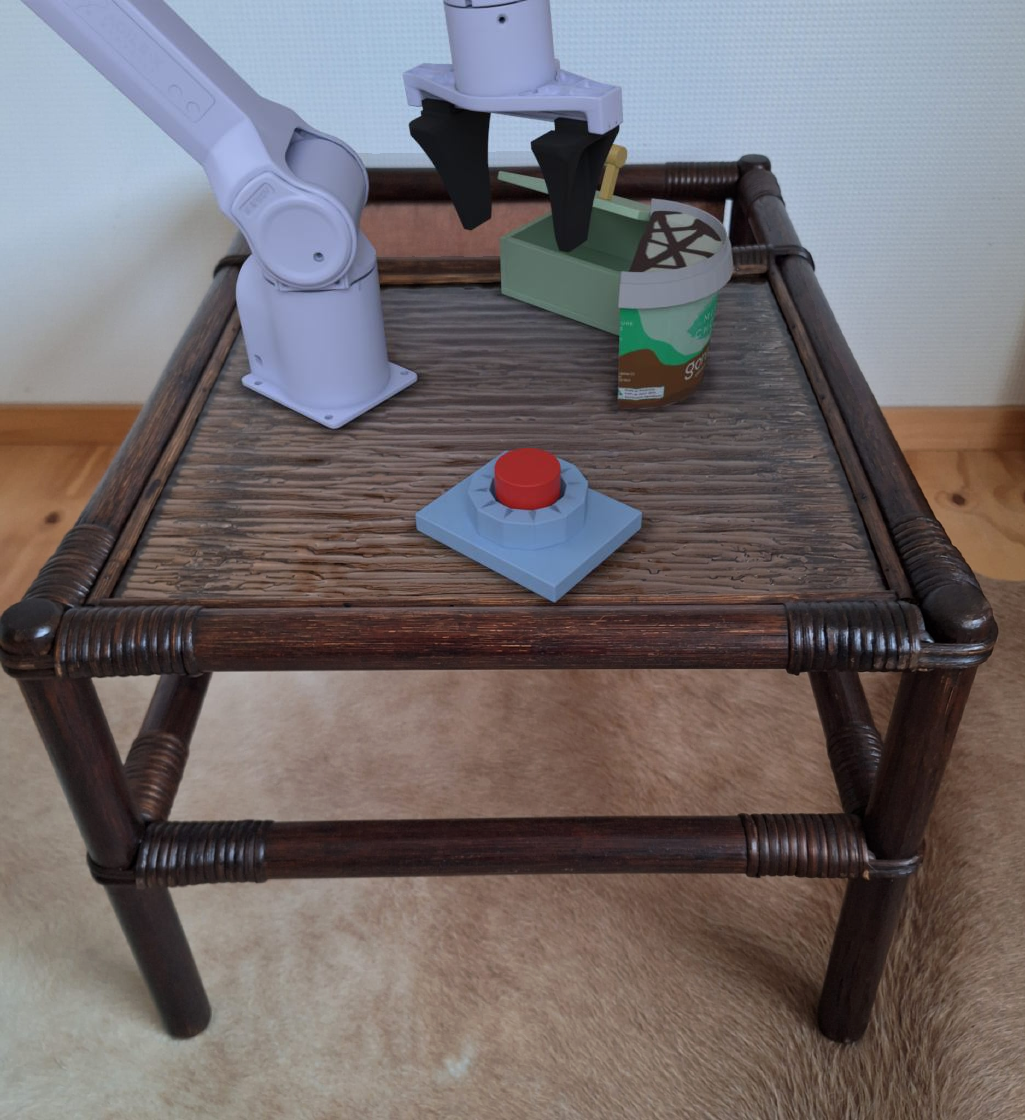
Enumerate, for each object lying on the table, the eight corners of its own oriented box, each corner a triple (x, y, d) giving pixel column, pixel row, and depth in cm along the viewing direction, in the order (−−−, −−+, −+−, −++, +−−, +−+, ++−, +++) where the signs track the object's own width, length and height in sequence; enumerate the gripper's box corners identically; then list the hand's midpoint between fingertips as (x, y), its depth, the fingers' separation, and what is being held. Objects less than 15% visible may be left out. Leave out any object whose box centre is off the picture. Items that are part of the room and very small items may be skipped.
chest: (630, 340, 77) (633, 280, 74) (501, 293, 83) (499, 237, 80) (706, 288, 83) (712, 231, 80) (580, 248, 89) (581, 194, 86)
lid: (636, 219, 71) (654, 153, 70) (496, 179, 77) (510, 117, 76) (711, 231, 80) (728, 173, 78) (580, 193, 86) (593, 139, 85)
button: (481, 495, 59) (480, 469, 58) (523, 465, 61) (522, 440, 60) (532, 520, 57) (532, 494, 56) (573, 488, 59) (574, 462, 58)
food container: (709, 431, 68) (725, 285, 61) (613, 420, 69) (619, 275, 63) (729, 338, 77) (746, 202, 71) (644, 329, 78) (653, 195, 72)
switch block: (416, 530, 61) (411, 487, 59) (506, 465, 66) (504, 424, 64) (554, 603, 56) (554, 560, 54) (641, 528, 61) (644, 485, 59)
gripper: (650, -21, 56) (658, 228, 65) (445, -32, 64) (477, 191, 73) (569, 18, 52) (590, 277, 61) (361, 1, 60) (406, 233, 69)
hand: (524, 234), depth 66 cm, fingers open, 7 cm apart
